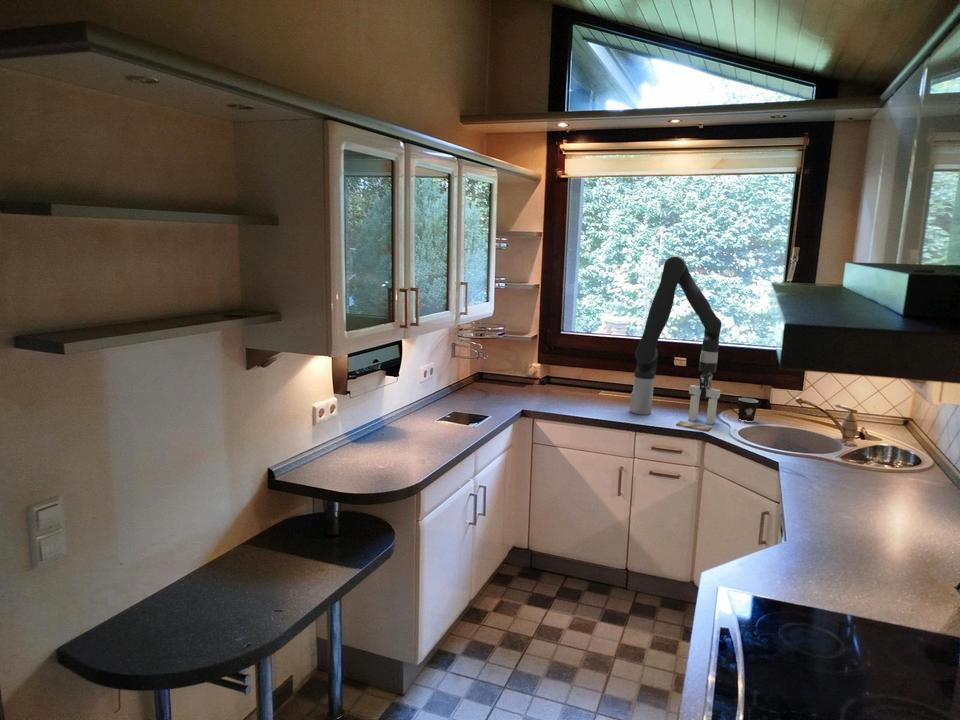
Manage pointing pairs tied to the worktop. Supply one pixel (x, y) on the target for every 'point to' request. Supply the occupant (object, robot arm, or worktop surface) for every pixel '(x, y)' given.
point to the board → (694, 426)
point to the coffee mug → (746, 408)
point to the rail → (709, 392)
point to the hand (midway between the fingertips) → (703, 397)
